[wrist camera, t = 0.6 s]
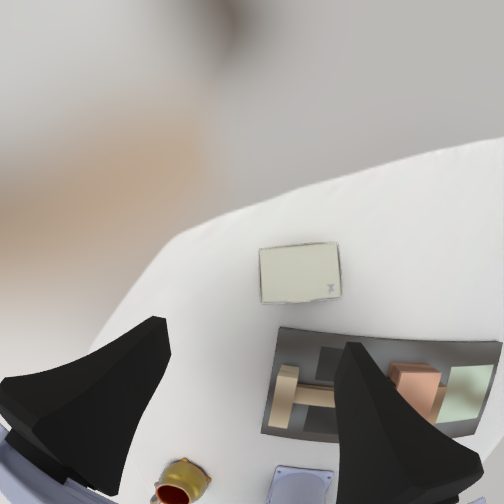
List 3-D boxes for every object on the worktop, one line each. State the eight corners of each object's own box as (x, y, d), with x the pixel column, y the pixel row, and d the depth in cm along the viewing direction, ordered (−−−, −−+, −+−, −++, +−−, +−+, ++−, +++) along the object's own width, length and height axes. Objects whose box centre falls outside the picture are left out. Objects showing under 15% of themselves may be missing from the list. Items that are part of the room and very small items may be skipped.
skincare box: (330, 257, 31) (343, 239, 19) (333, 294, 31) (347, 299, 19) (276, 261, 32) (256, 246, 21) (278, 298, 32) (259, 305, 20)
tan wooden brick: (424, 419, 24) (436, 432, 20) (273, 410, 28) (267, 425, 24) (438, 375, 25) (452, 385, 21) (281, 364, 29) (277, 375, 25)
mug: (187, 452, 32) (167, 474, 25) (219, 481, 30) (204, 506, 24) (146, 474, 32) (126, 492, 26) (174, 500, 31) (157, 520, 24)
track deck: (470, 430, 23) (487, 446, 17) (262, 427, 30) (253, 451, 24) (497, 341, 25) (521, 347, 19) (280, 326, 31) (273, 335, 26)
